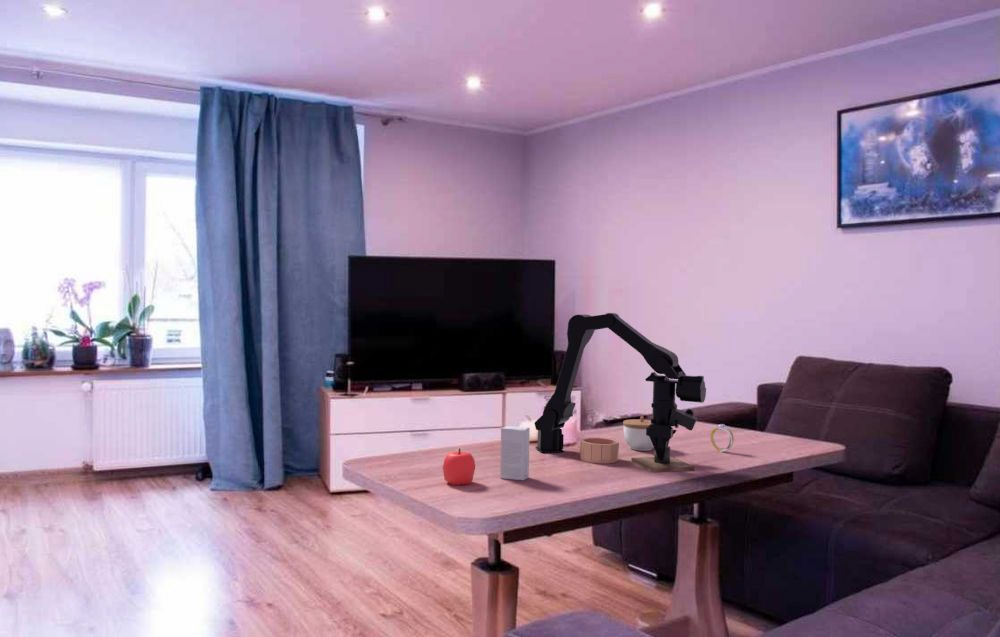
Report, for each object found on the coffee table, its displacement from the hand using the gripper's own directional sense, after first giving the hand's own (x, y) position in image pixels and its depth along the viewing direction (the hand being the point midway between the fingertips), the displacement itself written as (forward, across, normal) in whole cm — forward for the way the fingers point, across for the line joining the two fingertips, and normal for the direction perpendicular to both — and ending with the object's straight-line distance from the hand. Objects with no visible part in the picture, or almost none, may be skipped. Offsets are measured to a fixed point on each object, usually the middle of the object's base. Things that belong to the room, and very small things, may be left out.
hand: (662, 458), depth 194 cm
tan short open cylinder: (+2, 0, +17) cm, 17 cm away
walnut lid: (+2, 0, 0) cm, 2 cm away
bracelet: (+2, +27, -14) cm, 30 cm away
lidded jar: (+2, +21, +9) cm, 22 cm away
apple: (+2, -40, +41) cm, 57 cm away
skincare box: (+2, -30, +31) cm, 43 cm away
